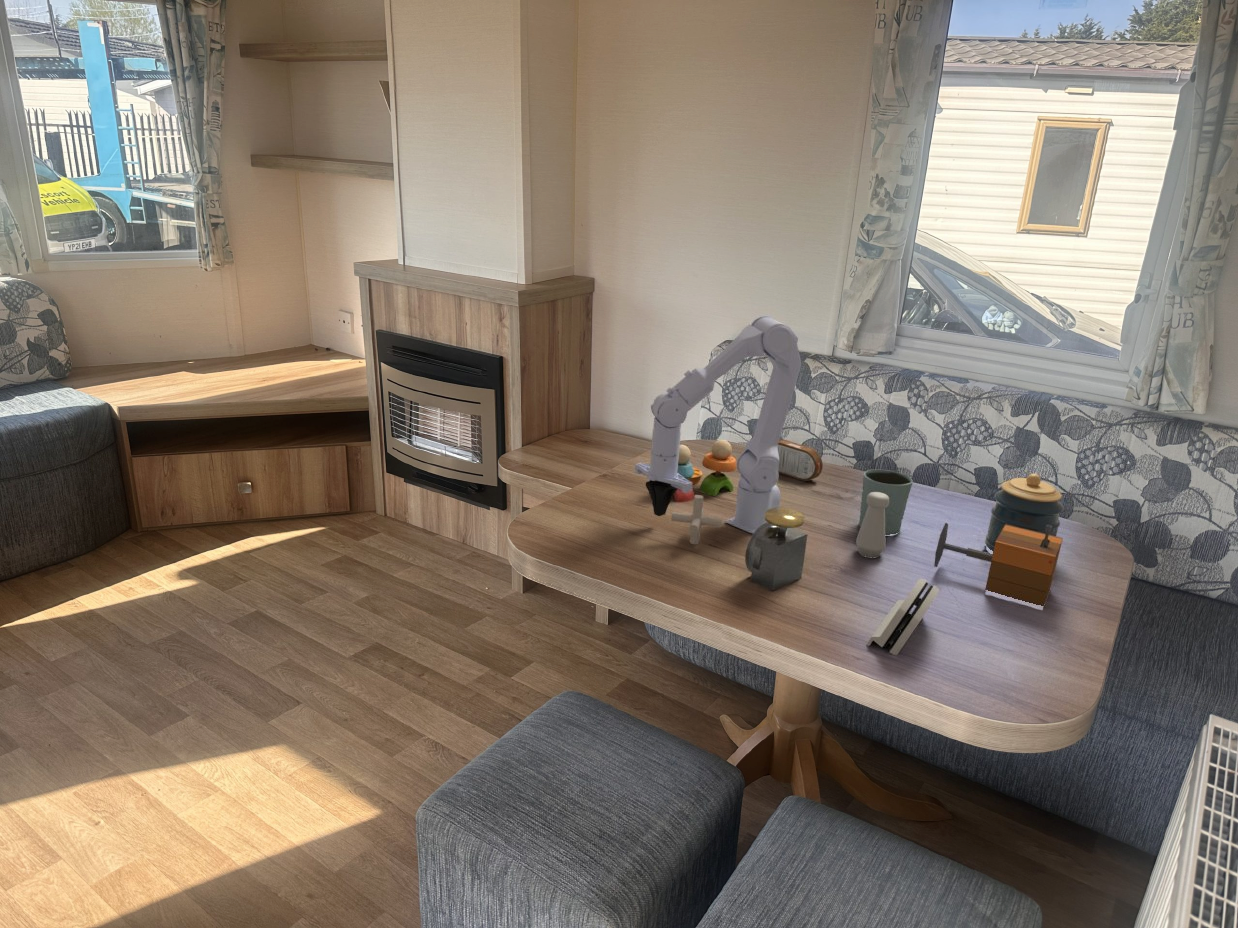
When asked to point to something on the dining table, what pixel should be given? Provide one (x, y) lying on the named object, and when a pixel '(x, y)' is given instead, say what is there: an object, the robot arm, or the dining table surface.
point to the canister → (1025, 507)
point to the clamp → (1016, 562)
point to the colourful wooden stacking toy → (712, 461)
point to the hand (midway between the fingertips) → (659, 514)
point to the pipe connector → (696, 519)
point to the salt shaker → (873, 526)
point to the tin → (798, 461)
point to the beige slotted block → (904, 617)
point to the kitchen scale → (777, 549)
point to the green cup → (894, 488)
